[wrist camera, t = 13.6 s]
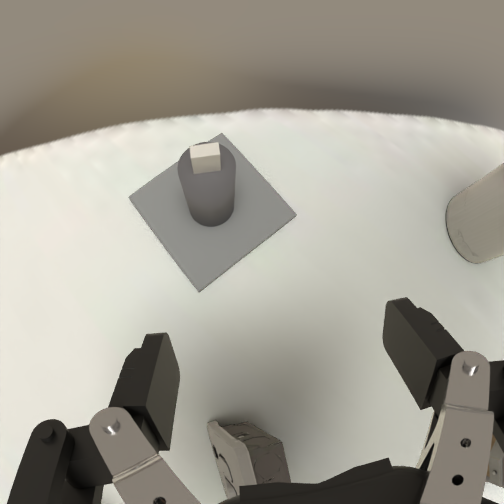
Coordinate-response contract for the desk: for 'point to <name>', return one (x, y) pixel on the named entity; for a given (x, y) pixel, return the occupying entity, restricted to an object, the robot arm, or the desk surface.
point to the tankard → (495, 464)
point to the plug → (208, 182)
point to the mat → (219, 237)
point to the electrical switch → (247, 456)
